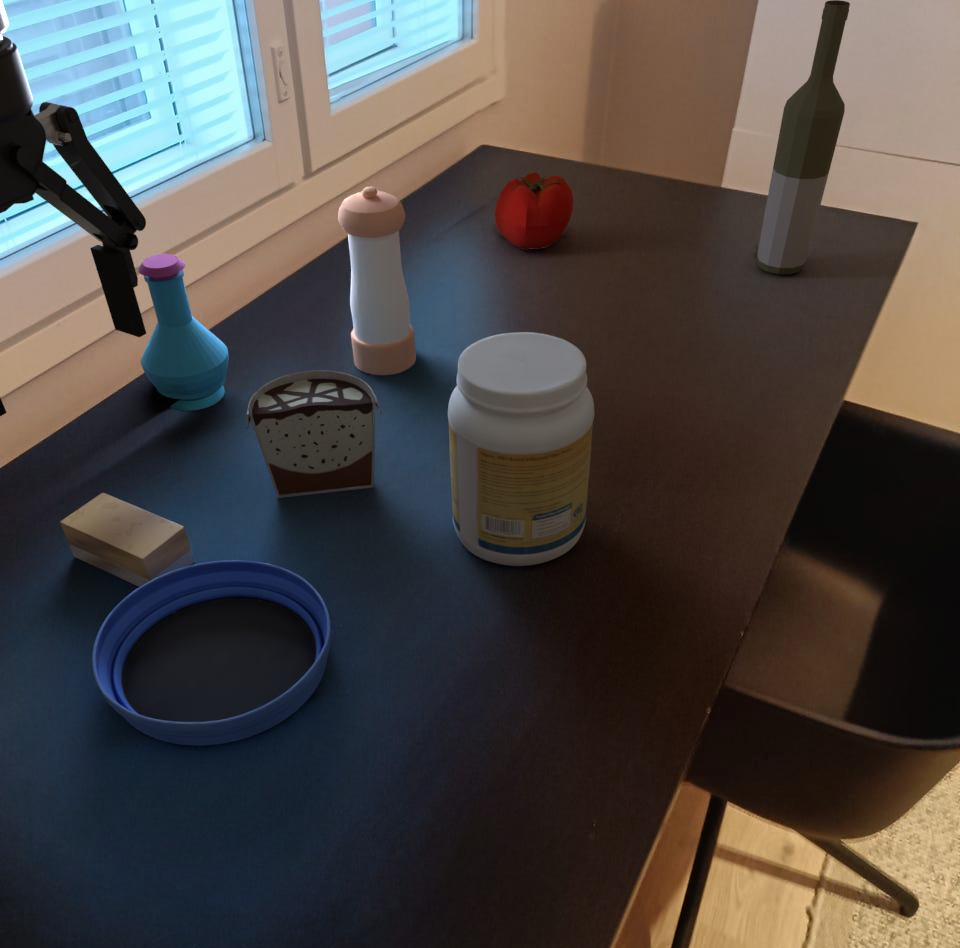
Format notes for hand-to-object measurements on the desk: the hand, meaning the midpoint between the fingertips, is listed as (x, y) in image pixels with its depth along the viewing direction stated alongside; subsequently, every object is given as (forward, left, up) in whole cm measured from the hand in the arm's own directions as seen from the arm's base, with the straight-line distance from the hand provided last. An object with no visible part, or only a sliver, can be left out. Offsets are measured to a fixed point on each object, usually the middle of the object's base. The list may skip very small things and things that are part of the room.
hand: (64, 369), depth 70 cm
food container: (+7, +19, -19) cm, 28 cm away
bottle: (+31, +88, -19) cm, 95 cm away
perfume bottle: (-15, +24, -19) cm, 34 cm away
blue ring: (+16, -6, -19) cm, 25 cm away
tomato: (-2, +79, -19) cm, 81 cm away
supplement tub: (+28, +21, -19) cm, 40 cm away
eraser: (0, 0, -19) cm, 19 cm away
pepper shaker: (-1, +41, -19) cm, 45 cm away
